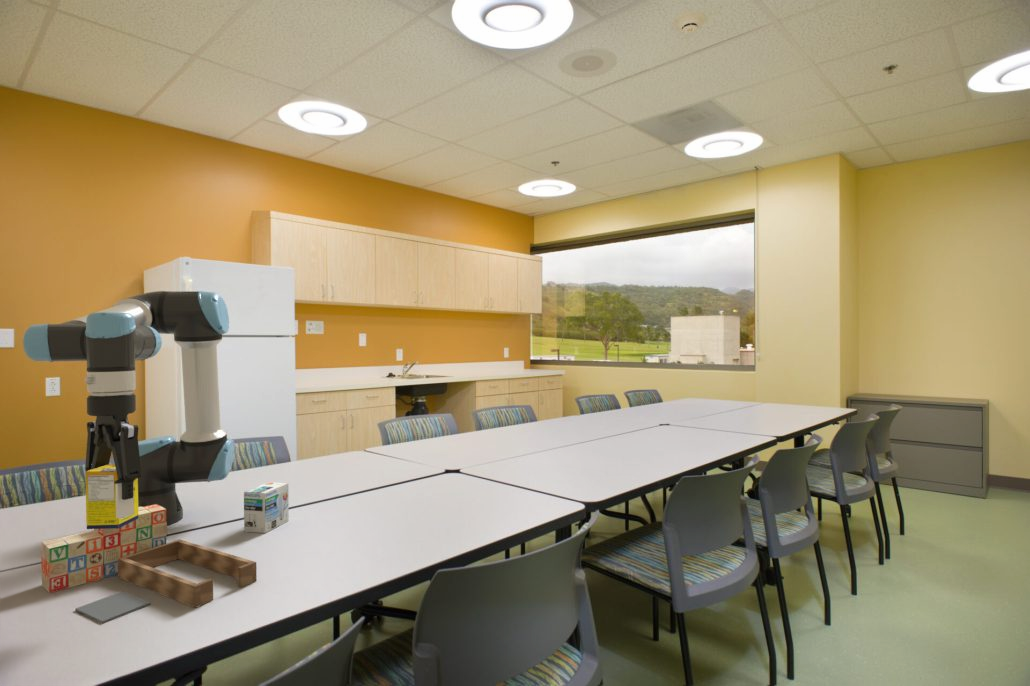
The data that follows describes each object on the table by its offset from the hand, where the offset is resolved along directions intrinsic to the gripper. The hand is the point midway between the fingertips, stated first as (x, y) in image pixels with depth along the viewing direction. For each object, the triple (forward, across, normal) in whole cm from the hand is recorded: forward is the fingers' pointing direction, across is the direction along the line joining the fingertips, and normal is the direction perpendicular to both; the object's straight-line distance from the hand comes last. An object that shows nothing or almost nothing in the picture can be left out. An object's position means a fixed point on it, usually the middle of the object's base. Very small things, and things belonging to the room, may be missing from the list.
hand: (113, 512), depth 105 cm
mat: (+18, 0, 0) cm, 18 cm away
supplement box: (+2, 0, 0) cm, 2 cm away
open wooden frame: (+18, 0, +14) cm, 23 cm away
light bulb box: (+18, -14, +44) cm, 50 cm away
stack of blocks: (+19, -19, +8) cm, 28 cm away
